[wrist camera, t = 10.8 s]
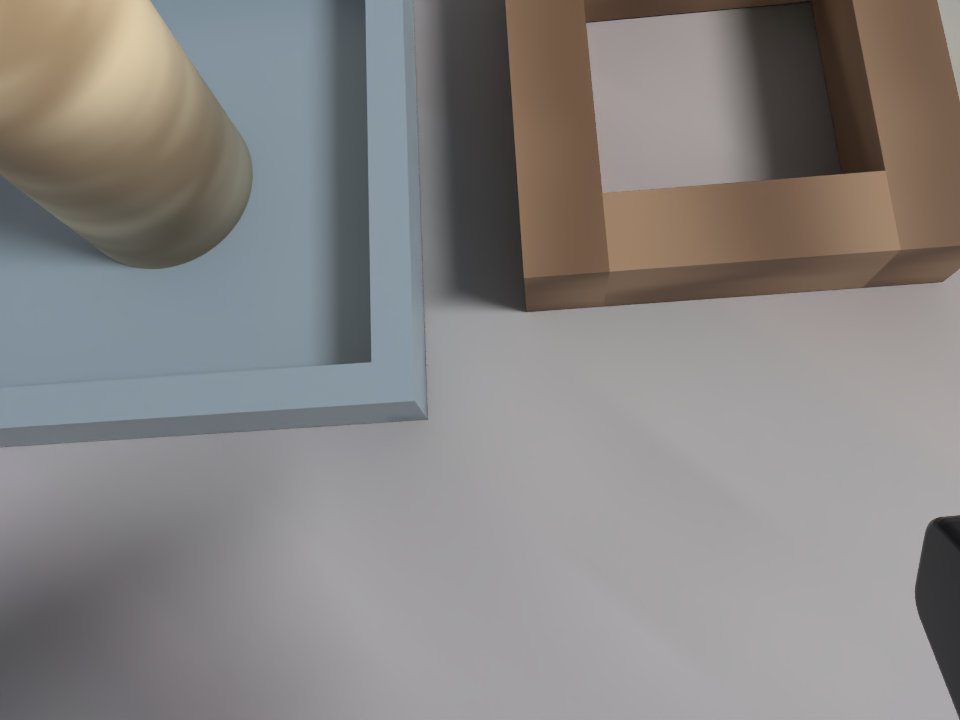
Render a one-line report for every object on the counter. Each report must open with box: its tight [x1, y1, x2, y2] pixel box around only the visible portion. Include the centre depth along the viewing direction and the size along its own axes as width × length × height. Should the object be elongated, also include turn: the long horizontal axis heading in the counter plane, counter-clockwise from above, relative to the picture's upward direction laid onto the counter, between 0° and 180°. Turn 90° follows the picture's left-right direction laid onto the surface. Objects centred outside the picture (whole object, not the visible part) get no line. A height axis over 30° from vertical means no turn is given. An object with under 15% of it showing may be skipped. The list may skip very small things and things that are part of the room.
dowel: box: [0, 0, 253, 269], centre depth 17 cm, size 5×5×14 cm
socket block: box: [505, 0, 960, 312], centre depth 22 cm, size 11×11×2 cm
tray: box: [0, 0, 428, 447], centre depth 23 cm, size 14×14×2 cm
